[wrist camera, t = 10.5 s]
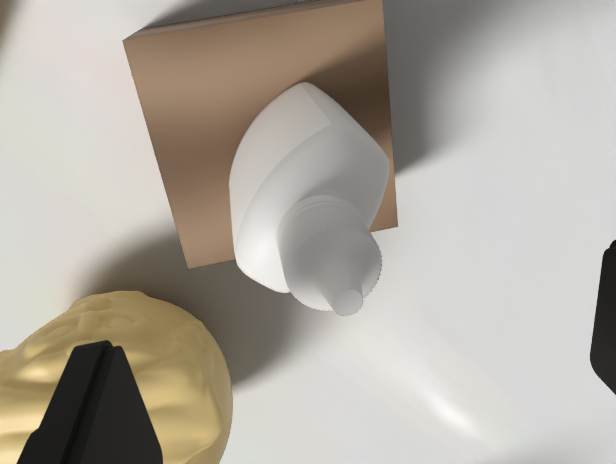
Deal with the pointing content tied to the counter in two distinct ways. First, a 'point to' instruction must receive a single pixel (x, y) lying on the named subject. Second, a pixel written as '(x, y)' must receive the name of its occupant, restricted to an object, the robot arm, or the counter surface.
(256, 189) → the eye dropper bottle
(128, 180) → the counter surface
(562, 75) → the counter surface
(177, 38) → the walnut base
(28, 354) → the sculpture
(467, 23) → the counter surface
